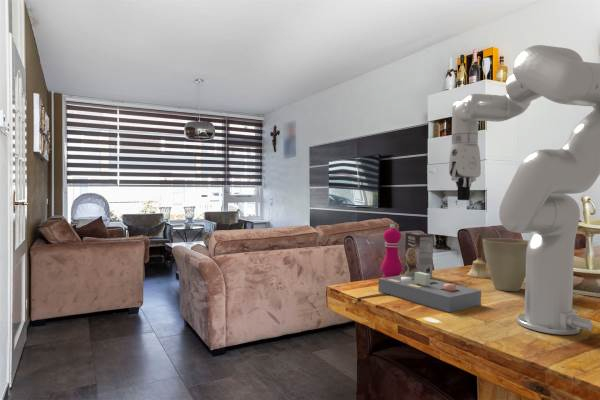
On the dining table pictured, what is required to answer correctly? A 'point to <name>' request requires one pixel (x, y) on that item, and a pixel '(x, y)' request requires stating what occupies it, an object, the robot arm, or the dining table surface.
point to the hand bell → (479, 262)
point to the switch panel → (430, 293)
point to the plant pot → (506, 262)
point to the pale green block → (422, 278)
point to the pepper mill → (391, 253)
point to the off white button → (406, 278)
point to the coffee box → (418, 253)
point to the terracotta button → (449, 287)
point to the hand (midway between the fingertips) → (463, 200)
